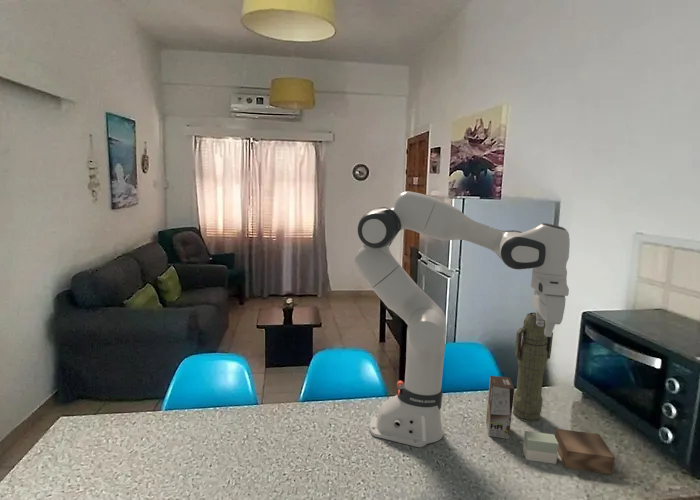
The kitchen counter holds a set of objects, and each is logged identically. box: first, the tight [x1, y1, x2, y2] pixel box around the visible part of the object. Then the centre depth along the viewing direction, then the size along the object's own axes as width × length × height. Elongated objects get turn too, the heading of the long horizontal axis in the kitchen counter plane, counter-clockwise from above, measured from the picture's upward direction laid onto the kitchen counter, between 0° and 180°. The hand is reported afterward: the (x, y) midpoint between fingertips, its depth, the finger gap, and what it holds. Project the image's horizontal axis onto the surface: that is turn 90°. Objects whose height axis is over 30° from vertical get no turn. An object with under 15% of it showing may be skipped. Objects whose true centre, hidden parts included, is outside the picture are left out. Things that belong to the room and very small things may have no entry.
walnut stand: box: [554, 428, 615, 475], centre depth 133 cm, size 12×12×5 cm
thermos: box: [512, 312, 554, 422], centre depth 155 cm, size 9×12×35 cm
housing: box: [522, 430, 558, 465], centre depth 133 cm, size 8×5×6 cm, turn 80°
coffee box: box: [485, 375, 515, 440], centre depth 146 cm, size 9×6×16 cm
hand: (543, 330), depth 131 cm, fingers open, 8 cm apart
